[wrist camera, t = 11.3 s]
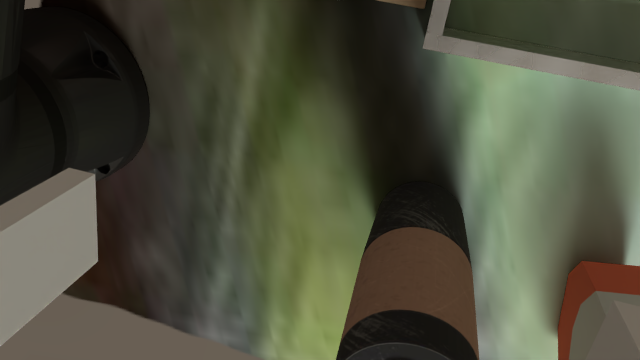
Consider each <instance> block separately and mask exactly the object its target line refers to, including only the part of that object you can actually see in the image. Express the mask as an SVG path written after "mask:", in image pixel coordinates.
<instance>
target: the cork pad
mask: <svg viewBox="0 0 640 360" xmlns="http://www.w3.org/2000/svg"><path fill="white" fill-rule="evenodd" d="M377 1H383V2H388V3H394V4H399V5H405V6H410V7H415V8H421V9H425V5H426V0H377Z"/></svg>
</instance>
